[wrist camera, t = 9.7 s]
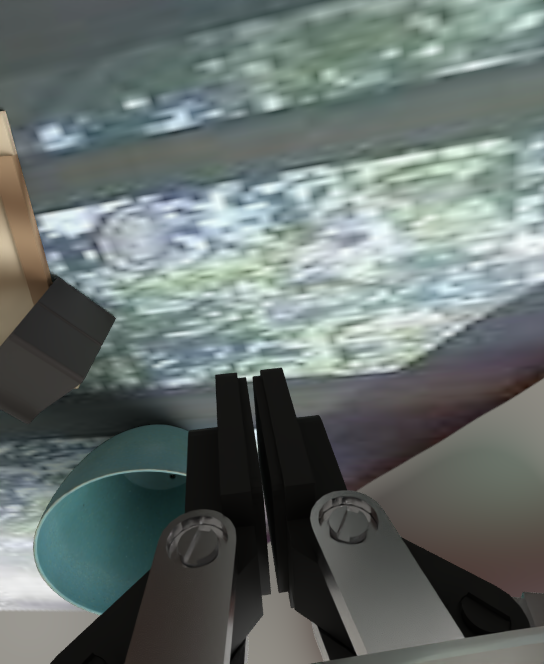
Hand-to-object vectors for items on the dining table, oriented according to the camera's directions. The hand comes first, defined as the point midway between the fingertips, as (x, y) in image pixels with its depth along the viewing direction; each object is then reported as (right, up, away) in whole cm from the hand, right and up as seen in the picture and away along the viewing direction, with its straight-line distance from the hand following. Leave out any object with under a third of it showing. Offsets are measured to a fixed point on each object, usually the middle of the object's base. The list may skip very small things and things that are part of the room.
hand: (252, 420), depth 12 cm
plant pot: (-12, -11, +39) cm, 42 cm away
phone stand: (-16, +3, +26) cm, 31 cm away
